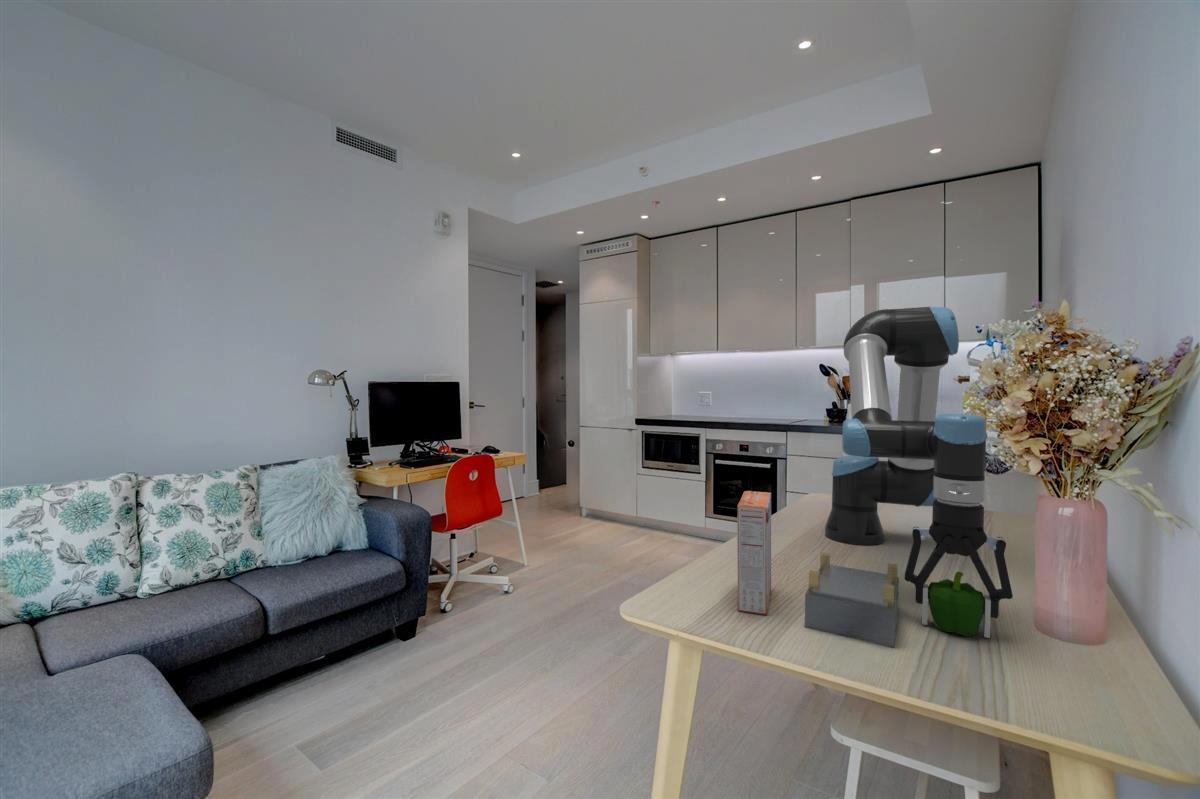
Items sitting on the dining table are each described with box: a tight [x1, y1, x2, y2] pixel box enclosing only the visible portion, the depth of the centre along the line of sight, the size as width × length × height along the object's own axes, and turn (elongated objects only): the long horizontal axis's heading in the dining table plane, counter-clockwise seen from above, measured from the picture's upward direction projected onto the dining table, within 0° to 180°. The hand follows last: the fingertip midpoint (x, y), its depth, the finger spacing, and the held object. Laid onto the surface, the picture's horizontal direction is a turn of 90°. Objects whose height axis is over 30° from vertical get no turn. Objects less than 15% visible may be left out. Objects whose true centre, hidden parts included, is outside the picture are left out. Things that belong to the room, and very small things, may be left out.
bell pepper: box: [928, 571, 985, 637], centre depth 93 cm, size 8×8×10 cm
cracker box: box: [736, 490, 772, 616], centre depth 106 cm, size 14×6×21 cm, turn 159°
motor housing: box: [804, 552, 900, 648], centre depth 100 cm, size 21×14×9 cm, turn 148°
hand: (954, 627), depth 94 cm, fingers closed on bell pepper, 8 cm apart
